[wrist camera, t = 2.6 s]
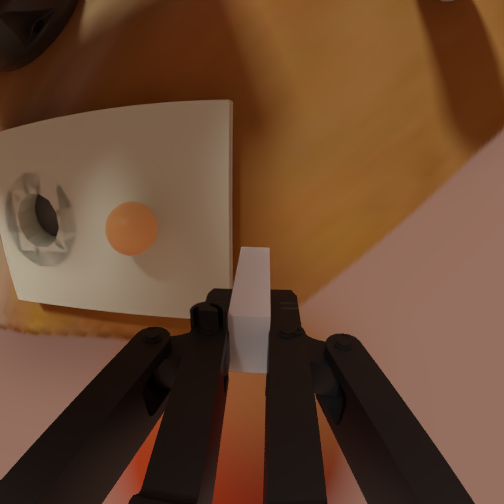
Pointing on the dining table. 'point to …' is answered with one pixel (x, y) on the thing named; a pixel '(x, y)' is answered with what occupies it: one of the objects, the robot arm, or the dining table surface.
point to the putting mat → (113, 194)
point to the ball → (131, 228)
